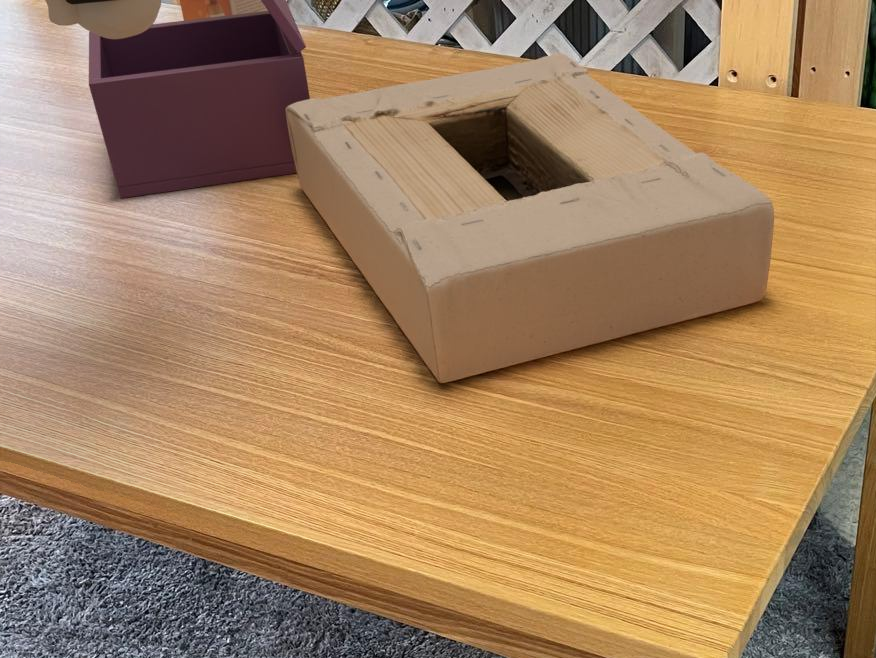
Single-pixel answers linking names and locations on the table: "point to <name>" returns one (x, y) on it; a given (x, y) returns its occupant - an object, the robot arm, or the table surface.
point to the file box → (196, 102)
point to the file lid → (285, 22)
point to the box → (526, 213)
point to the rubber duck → (106, 16)
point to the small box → (218, 8)
